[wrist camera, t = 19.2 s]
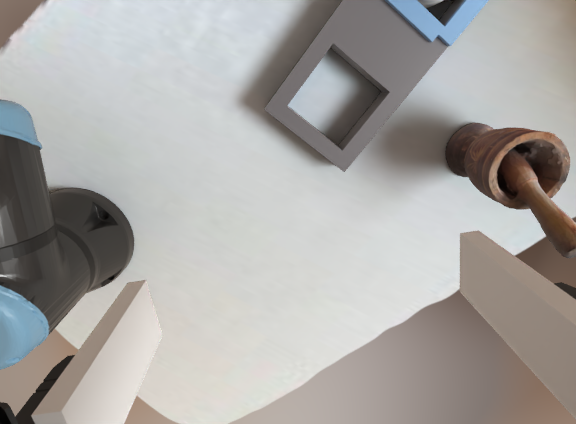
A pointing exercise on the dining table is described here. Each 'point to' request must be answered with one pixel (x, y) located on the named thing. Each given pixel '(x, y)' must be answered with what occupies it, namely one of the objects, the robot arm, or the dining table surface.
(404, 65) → the socket rack
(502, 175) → the mortar and pestle
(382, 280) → the dining table surface
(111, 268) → the robot arm
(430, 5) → the cylindrical container
